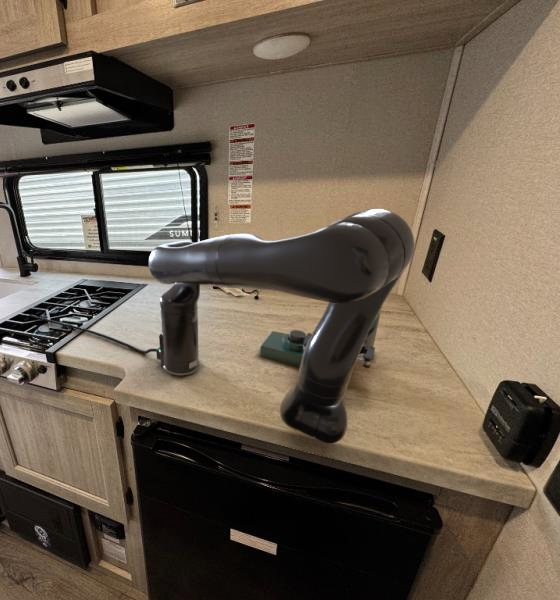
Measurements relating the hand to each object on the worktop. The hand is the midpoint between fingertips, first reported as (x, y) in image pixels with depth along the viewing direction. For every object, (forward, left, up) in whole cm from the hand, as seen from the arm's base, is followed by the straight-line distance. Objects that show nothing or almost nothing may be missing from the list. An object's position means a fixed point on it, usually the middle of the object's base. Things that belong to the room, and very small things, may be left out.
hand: (341, 336), depth 80 cm
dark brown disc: (-10, -2, -3) cm, 11 cm away
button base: (-12, -2, -8) cm, 14 cm away
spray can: (+4, +7, -8) cm, 11 cm away
